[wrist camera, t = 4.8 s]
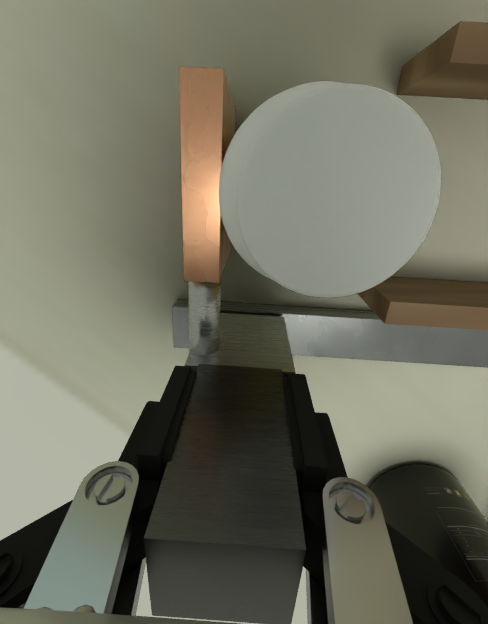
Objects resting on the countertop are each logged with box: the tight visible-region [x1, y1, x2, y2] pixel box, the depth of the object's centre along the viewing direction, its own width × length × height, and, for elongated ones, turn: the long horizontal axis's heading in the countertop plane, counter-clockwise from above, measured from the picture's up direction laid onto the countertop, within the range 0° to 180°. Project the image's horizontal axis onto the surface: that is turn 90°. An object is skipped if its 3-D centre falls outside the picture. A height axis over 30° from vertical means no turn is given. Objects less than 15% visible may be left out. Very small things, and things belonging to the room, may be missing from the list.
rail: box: [172, 299, 488, 367], centre depth 17 cm, size 2×18×1 cm, turn 87°
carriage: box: [144, 67, 306, 624], centre depth 10 cm, size 12×4×12 cm, turn 177°
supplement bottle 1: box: [219, 81, 441, 298], centre depth 11 cm, size 5×5×10 cm
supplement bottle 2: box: [369, 464, 488, 608], centre depth 17 cm, size 7×7×12 cm
